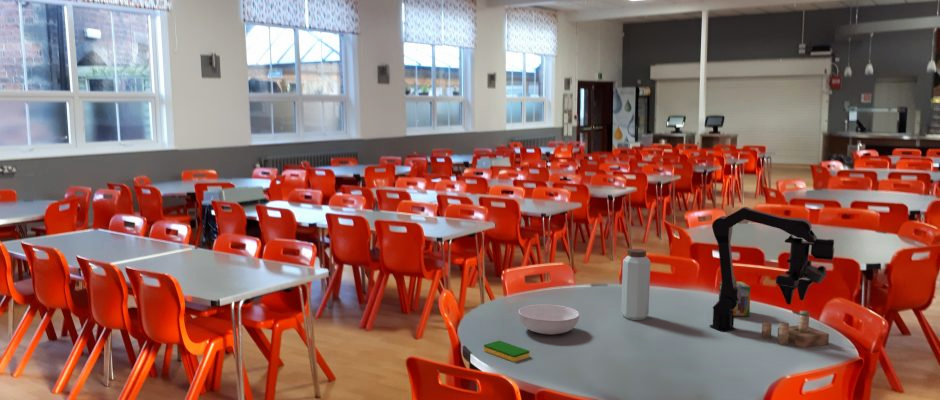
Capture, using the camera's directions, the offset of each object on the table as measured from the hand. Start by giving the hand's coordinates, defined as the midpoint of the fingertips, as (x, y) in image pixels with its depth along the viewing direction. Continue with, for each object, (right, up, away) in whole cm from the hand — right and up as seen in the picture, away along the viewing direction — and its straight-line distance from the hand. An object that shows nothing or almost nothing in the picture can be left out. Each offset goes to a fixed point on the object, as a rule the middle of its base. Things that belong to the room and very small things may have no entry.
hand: (795, 302), depth 250 cm
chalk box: (-10, -9, +32) cm, 34 cm away
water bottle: (-48, -9, +26) cm, 56 cm away
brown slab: (+2, -13, -1) cm, 13 cm away
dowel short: (-9, -12, +3) cm, 15 cm away
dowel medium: (-6, -13, -4) cm, 15 cm away
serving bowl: (-82, -11, +9) cm, 83 cm away
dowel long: (+2, -13, -1) cm, 13 cm away
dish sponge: (-98, -15, -16) cm, 100 cm away
